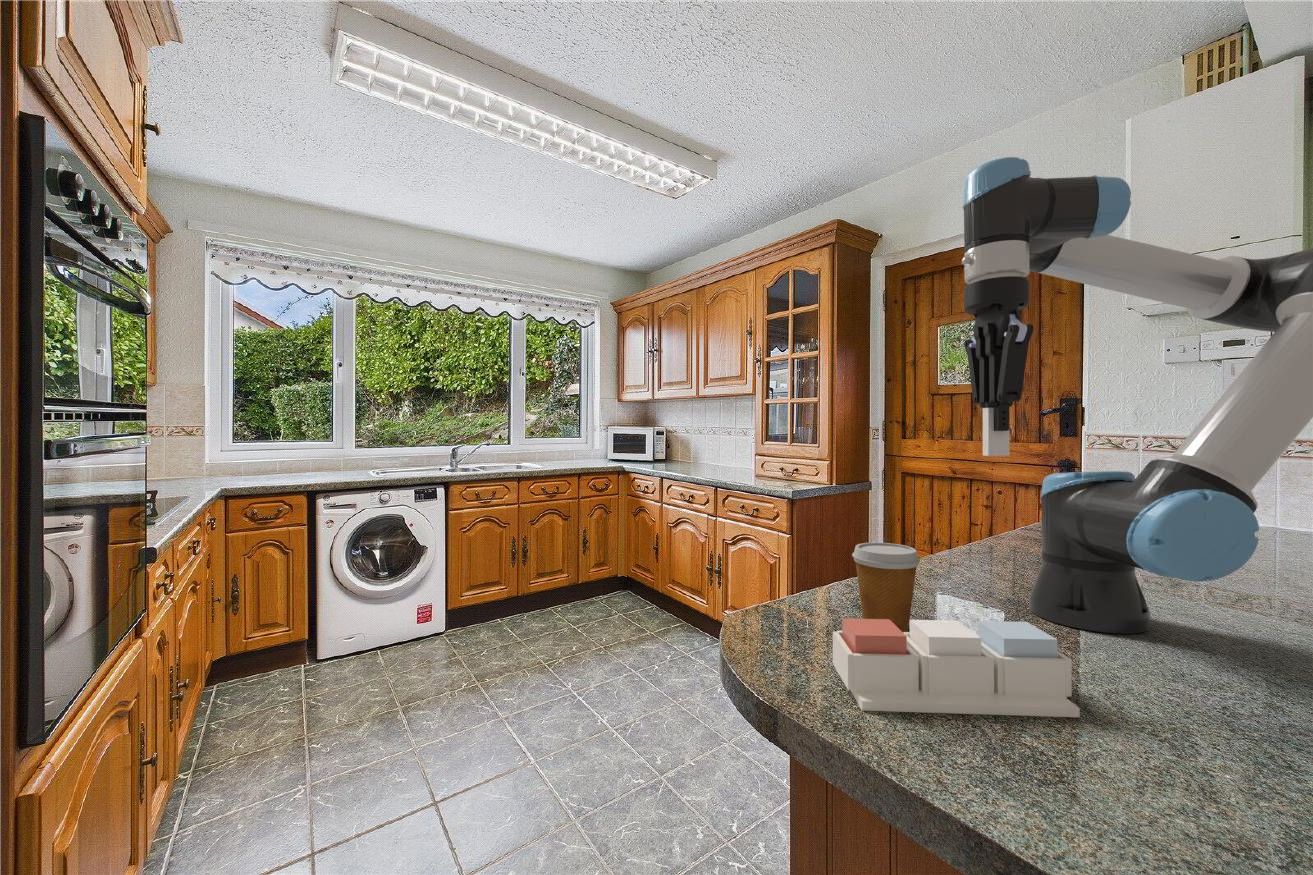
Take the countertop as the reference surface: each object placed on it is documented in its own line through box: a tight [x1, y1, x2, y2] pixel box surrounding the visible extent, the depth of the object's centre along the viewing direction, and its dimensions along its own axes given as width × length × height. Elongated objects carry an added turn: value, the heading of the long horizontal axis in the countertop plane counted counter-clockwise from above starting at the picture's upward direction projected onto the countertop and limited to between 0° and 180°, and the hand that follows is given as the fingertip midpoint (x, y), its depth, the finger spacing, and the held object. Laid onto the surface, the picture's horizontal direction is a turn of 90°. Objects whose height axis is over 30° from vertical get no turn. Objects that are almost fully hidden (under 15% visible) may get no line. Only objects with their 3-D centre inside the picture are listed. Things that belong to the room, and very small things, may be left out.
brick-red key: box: [841, 617, 907, 655], centre depth 64 cm, size 6×6×4 cm
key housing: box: [832, 630, 1081, 718], centre depth 64 cm, size 24×12×5 cm, turn 86°
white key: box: [909, 619, 981, 656], centre depth 64 cm, size 6×6×4 cm
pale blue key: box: [977, 620, 1059, 658], centre depth 63 cm, size 6×6×4 cm
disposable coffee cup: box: [851, 542, 921, 632], centre depth 84 cm, size 10×10×12 cm
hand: (995, 455), depth 74 cm, fingers closed
